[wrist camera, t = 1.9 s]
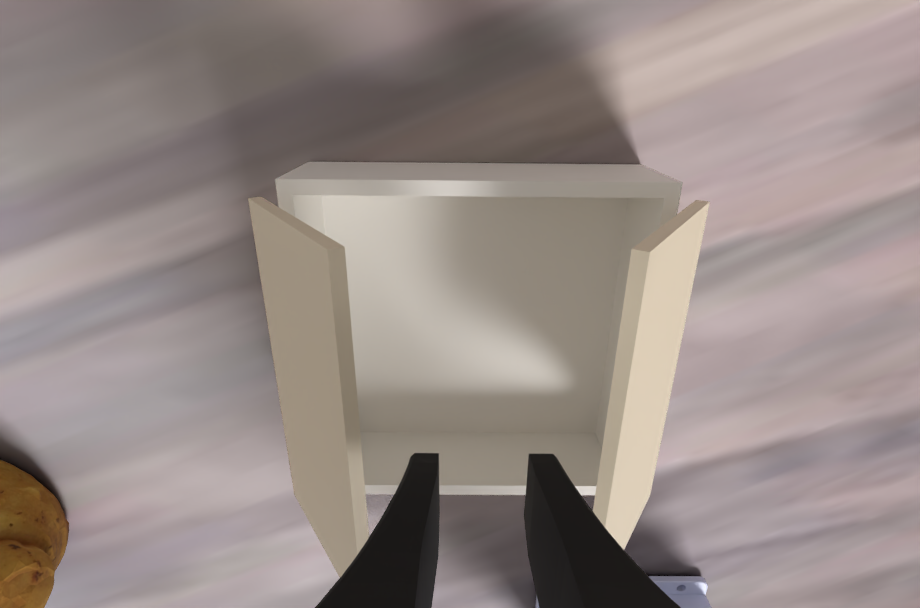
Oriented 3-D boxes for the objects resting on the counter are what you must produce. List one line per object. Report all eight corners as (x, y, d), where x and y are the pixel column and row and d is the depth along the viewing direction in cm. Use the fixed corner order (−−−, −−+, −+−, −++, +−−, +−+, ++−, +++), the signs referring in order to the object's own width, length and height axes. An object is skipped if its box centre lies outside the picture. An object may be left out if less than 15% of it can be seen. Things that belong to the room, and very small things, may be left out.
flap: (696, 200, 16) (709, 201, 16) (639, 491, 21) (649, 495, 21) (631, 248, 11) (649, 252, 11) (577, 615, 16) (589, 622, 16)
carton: (641, 164, 20) (682, 182, 16) (601, 435, 25) (626, 495, 21) (308, 161, 20) (274, 179, 16) (337, 434, 25) (316, 494, 21)
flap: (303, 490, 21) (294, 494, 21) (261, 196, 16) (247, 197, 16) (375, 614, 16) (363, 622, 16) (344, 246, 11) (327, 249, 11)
